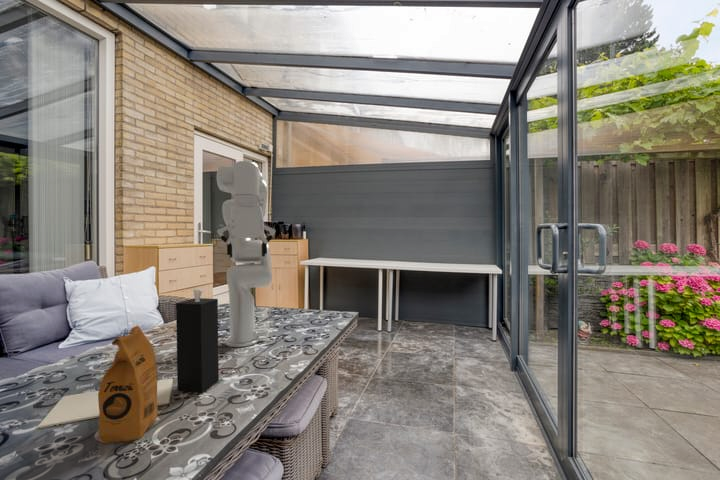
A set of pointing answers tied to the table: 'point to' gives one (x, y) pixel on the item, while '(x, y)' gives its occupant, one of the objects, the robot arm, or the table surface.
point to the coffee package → (128, 390)
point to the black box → (197, 343)
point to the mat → (92, 406)
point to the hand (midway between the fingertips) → (247, 256)
